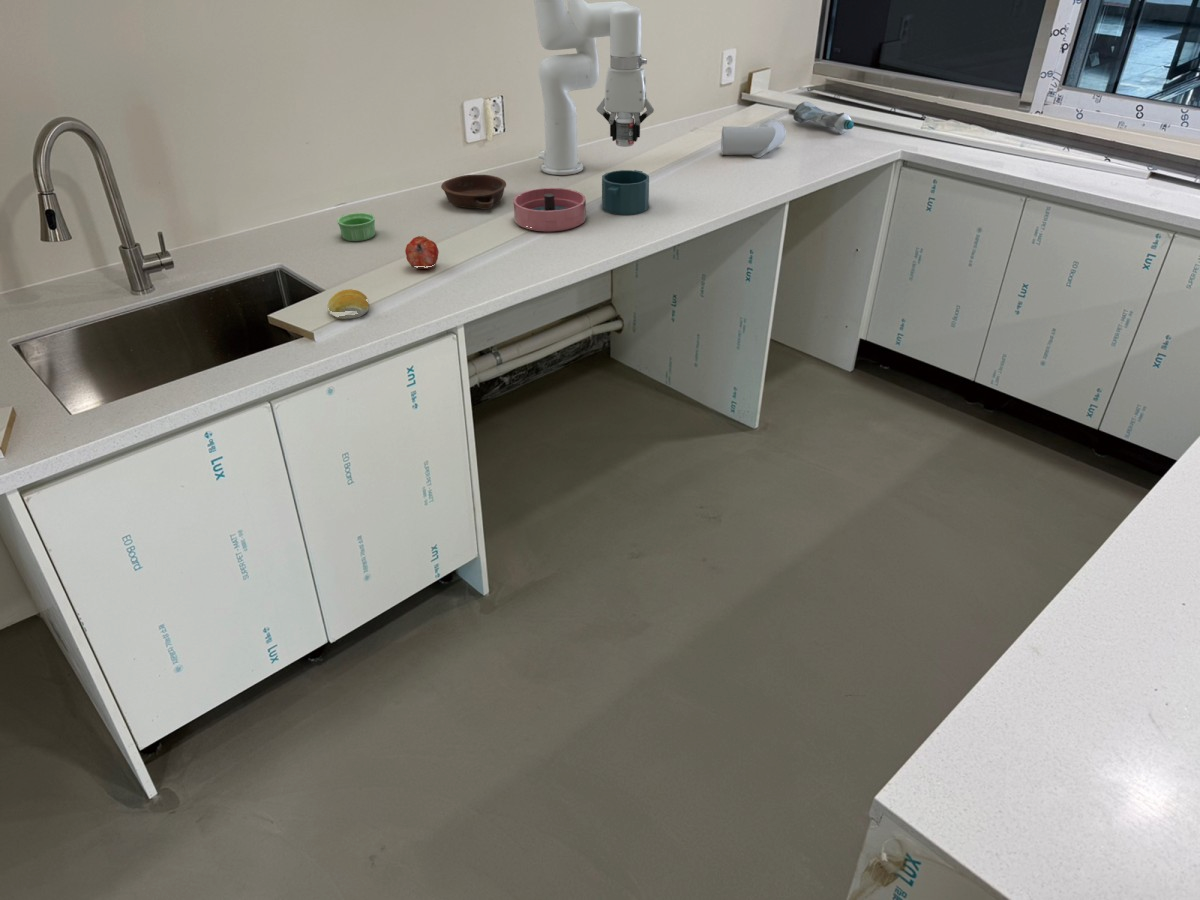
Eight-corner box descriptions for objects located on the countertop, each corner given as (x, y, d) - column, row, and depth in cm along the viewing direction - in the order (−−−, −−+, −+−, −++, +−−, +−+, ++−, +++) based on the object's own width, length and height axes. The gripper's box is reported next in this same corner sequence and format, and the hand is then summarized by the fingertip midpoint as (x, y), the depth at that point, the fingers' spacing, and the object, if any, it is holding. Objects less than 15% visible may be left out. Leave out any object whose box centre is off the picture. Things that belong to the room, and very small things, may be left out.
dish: (454, 219, 219) (452, 200, 217) (434, 194, 236) (432, 176, 233) (518, 209, 225) (517, 191, 222) (494, 186, 242) (492, 168, 239)
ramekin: (343, 230, 213) (340, 213, 211) (379, 228, 214) (376, 211, 211) (337, 243, 206) (334, 225, 203) (374, 241, 207) (372, 224, 204)
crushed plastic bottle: (785, 122, 297) (832, 137, 278) (789, 101, 293) (837, 114, 275) (814, 121, 302) (862, 136, 284) (818, 100, 299) (867, 113, 280)
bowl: (500, 222, 217) (498, 201, 214) (548, 203, 229) (547, 183, 226) (552, 238, 207) (551, 216, 204) (600, 218, 219) (600, 197, 216)
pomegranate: (410, 271, 197) (395, 260, 187) (417, 241, 197) (402, 228, 187) (440, 277, 196) (426, 266, 186) (447, 246, 196) (434, 233, 186)
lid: (515, 223, 215) (513, 199, 212) (539, 207, 225) (538, 184, 222) (561, 230, 210) (560, 206, 207) (584, 213, 220) (584, 190, 217)
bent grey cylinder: (765, 160, 255) (791, 145, 269) (761, 124, 250) (788, 110, 264) (713, 165, 265) (740, 150, 279) (708, 130, 260) (736, 116, 274)
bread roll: (367, 299, 179) (364, 281, 177) (371, 317, 172) (368, 299, 170) (327, 304, 177) (323, 286, 175) (329, 322, 170) (325, 304, 168)
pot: (590, 214, 221) (589, 184, 217) (617, 194, 235) (617, 165, 230) (633, 220, 217) (634, 190, 213) (658, 200, 230) (659, 170, 226)
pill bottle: (632, 147, 214) (632, 113, 210) (614, 146, 215) (614, 112, 210) (635, 142, 218) (636, 108, 213) (617, 141, 219) (617, 107, 214)
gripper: (661, 60, 207) (659, 137, 218) (594, 59, 210) (595, 135, 220) (658, 66, 201) (656, 144, 212) (588, 65, 204) (589, 142, 214)
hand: (625, 139), depth 216 cm, fingers closed on pill bottle, 4 cm apart
